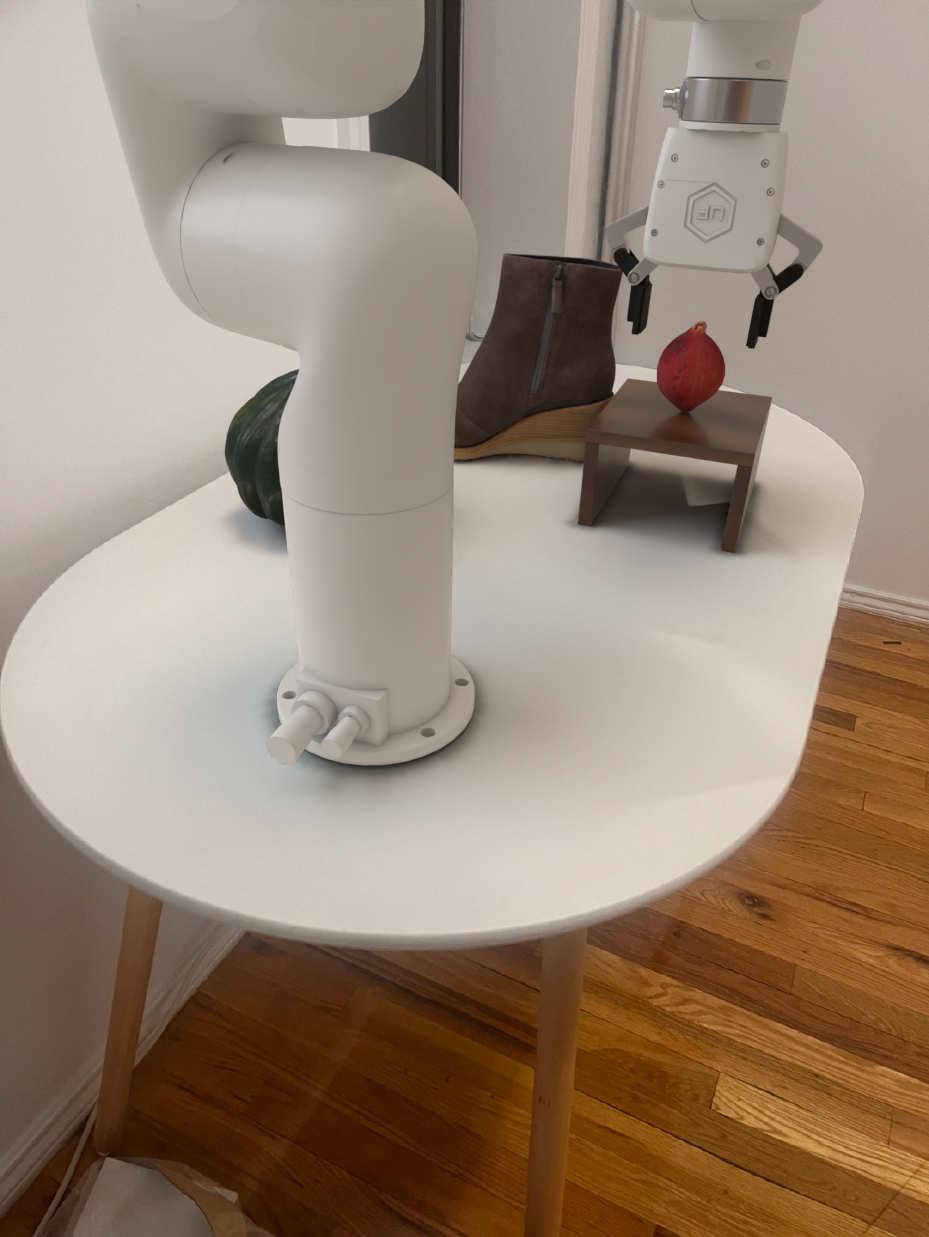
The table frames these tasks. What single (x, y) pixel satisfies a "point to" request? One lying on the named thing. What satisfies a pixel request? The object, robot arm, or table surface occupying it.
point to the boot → (540, 360)
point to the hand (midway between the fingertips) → (694, 338)
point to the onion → (690, 368)
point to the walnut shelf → (674, 442)
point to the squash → (259, 448)
